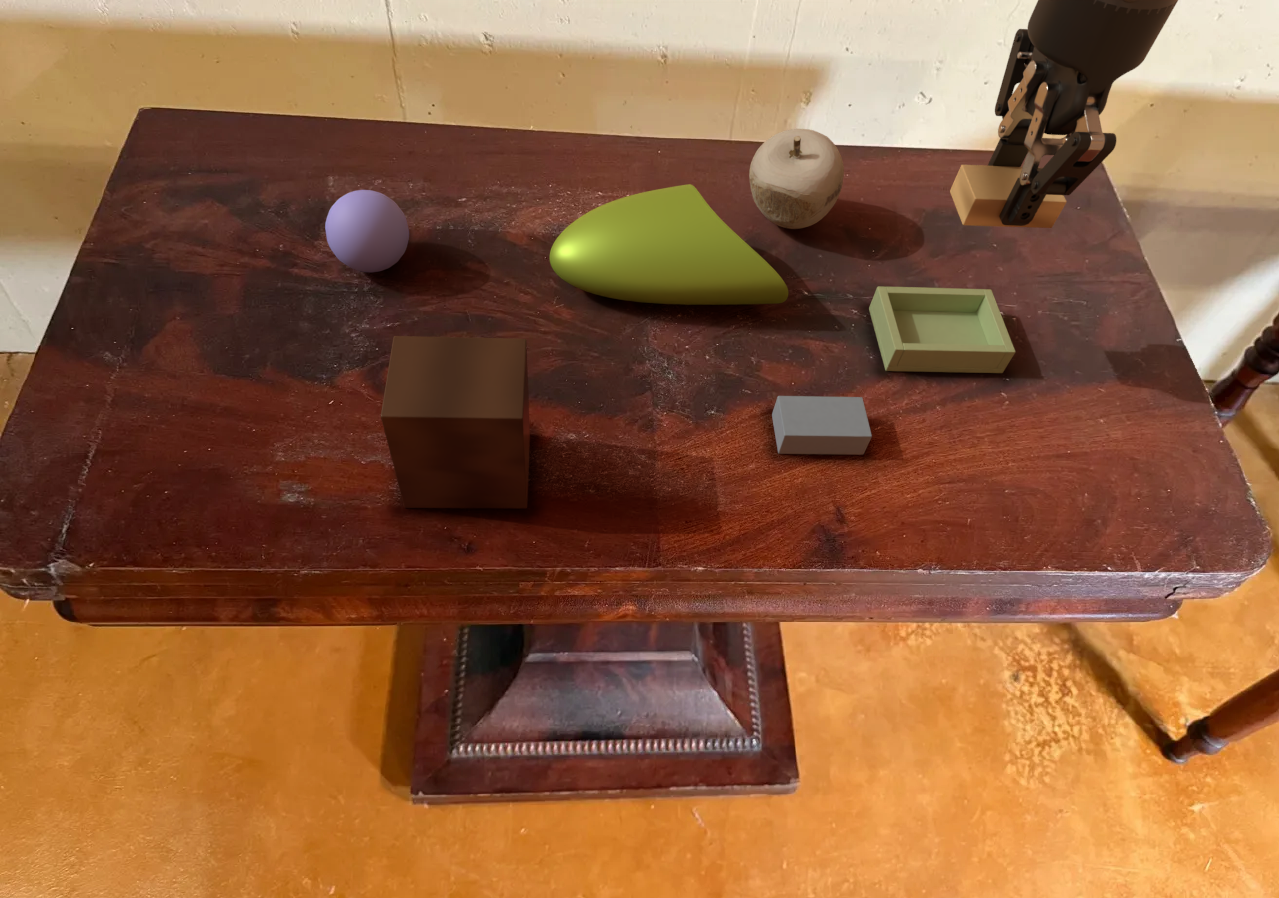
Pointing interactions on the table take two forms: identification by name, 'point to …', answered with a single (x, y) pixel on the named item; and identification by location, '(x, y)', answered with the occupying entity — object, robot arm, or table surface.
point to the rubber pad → (821, 425)
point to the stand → (458, 421)
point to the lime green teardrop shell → (663, 253)
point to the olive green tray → (940, 330)
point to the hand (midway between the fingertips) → (1004, 201)
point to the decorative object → (796, 177)
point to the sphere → (367, 231)
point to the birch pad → (996, 197)
